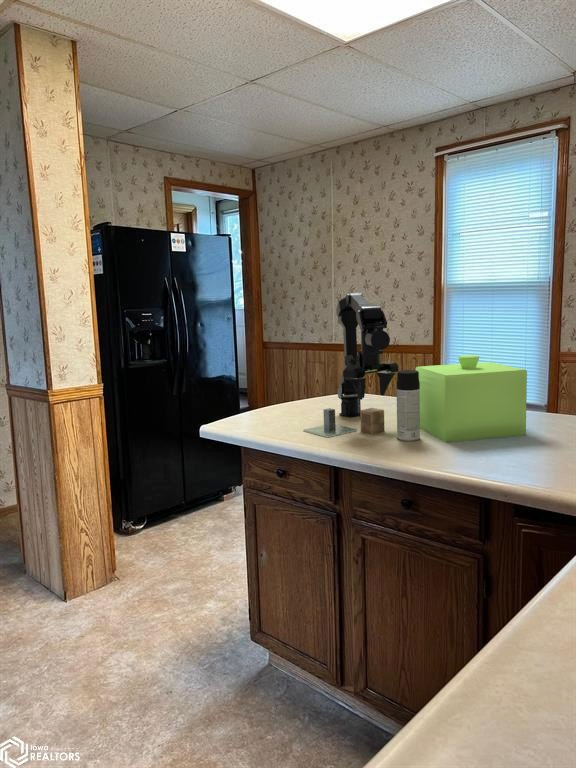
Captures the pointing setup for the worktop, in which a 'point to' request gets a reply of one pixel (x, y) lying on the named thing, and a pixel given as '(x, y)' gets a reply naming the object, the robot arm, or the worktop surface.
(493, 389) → the canister
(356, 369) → the robot arm
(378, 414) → the brown shipping carton
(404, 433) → the spray can
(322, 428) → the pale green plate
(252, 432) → the worktop surface
